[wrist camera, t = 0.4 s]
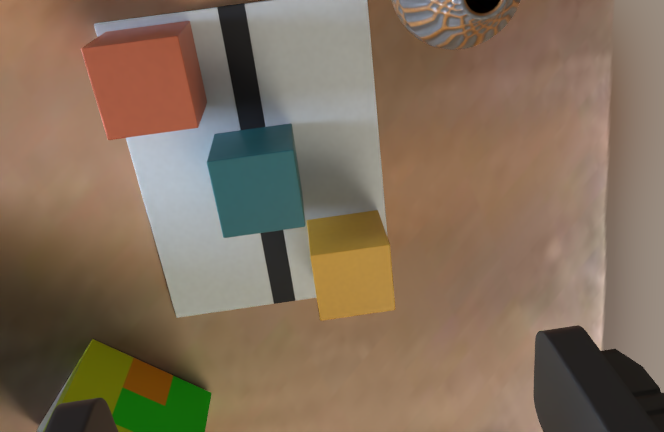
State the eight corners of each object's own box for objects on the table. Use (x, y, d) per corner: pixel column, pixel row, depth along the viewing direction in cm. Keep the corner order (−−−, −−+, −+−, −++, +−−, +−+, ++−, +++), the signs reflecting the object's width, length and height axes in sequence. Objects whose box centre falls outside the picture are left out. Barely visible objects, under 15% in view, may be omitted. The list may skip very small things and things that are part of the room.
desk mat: (94, 23, 36) (93, 24, 35) (365, -13, 36) (366, -13, 36) (177, 315, 45) (176, 317, 45) (391, 284, 45) (391, 286, 45)
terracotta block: (104, 31, 36) (80, 48, 31) (189, 20, 36) (177, 35, 31) (127, 114, 38) (107, 140, 33) (207, 103, 38) (198, 128, 34)
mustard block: (306, 219, 42) (310, 255, 38) (377, 209, 42) (390, 244, 38) (315, 280, 44) (320, 321, 40) (383, 270, 45) (395, 310, 40)
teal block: (213, 133, 39) (206, 161, 34) (291, 122, 39) (293, 149, 35) (229, 203, 41) (223, 239, 37) (302, 193, 41) (305, 227, 37)
